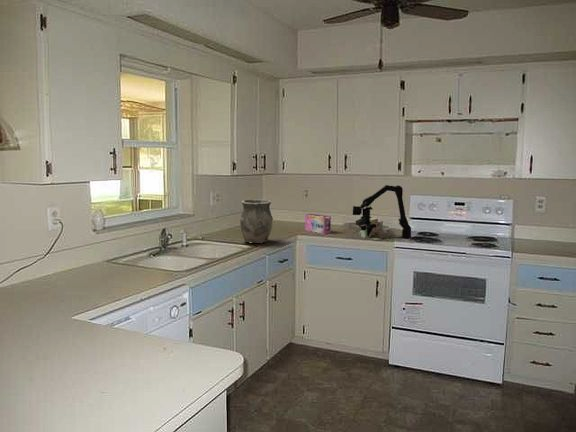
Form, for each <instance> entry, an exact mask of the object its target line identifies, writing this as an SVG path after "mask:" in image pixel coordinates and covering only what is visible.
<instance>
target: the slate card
mask: <svg viewBox="0 0 576 432" xmlns="http://www.w3.org/2000/svg"><path fill="white" fill-rule="evenodd" d="M369 240H371V241H374V242H377V241H383V240H384V238H382V239H380V238H375V237H369Z"/></svg>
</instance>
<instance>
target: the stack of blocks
mask: <svg viewBox="0 0 576 432" xmlns="http://www.w3.org/2000/svg"><path fill="white" fill-rule="evenodd" d="M370 222H371V223H374V224H376V228H373V229H372V231H371V235H370V237H371V236H374V235H373V234H374V232H378V231H382V229H383V228H384V224H383V223H384V222H383V220H379V217H378V218H377V217H371V218H370ZM366 230H367V229H366Z"/></svg>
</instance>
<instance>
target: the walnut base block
mask: <svg viewBox="0 0 576 432" xmlns="http://www.w3.org/2000/svg"><path fill="white" fill-rule="evenodd" d="M389 236H390V235H389V233H388V232H384V231H378V232H374V235H373V238H380V239H390V238H389Z"/></svg>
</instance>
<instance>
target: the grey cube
mask: <svg viewBox="0 0 576 432" xmlns="http://www.w3.org/2000/svg"><path fill="white" fill-rule="evenodd" d="M382 231H384V232H388V233H389V236H392V228H388V227H386V228H384V227H383V229H382Z"/></svg>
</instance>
